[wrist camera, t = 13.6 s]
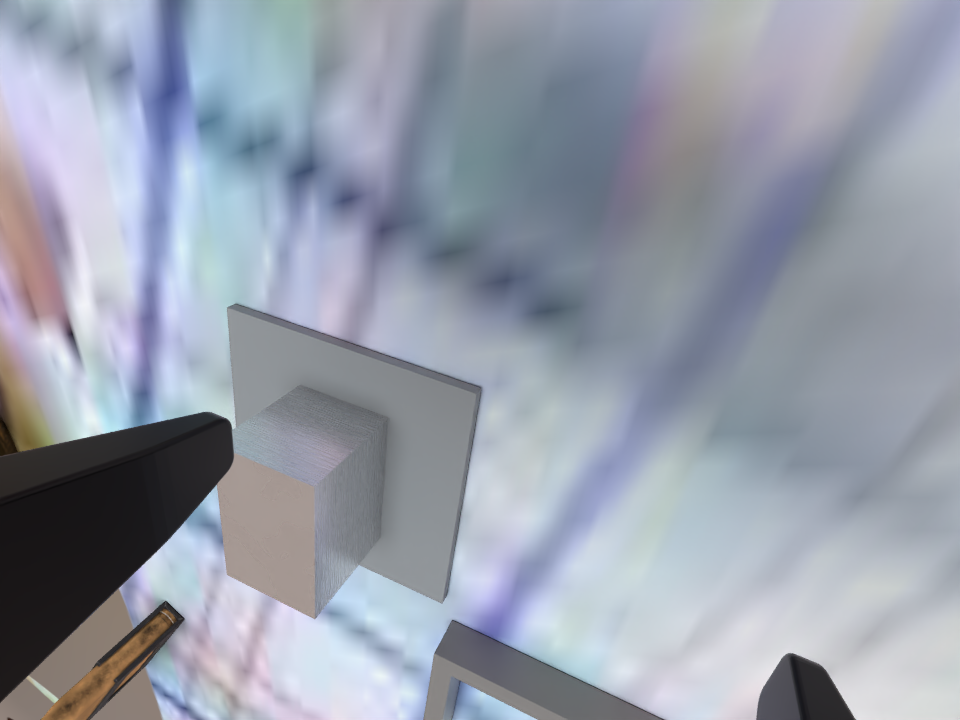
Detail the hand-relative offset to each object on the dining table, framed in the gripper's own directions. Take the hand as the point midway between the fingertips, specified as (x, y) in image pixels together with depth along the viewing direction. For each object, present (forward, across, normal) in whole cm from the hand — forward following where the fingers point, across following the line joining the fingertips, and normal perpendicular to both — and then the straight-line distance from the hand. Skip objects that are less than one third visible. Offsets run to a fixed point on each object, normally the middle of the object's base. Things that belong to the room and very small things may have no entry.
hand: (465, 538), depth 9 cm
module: (+12, +10, +11) cm, 19 cm away
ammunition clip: (+12, +26, +35) cm, 45 cm away
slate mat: (+12, +10, +11) cm, 19 cm away
